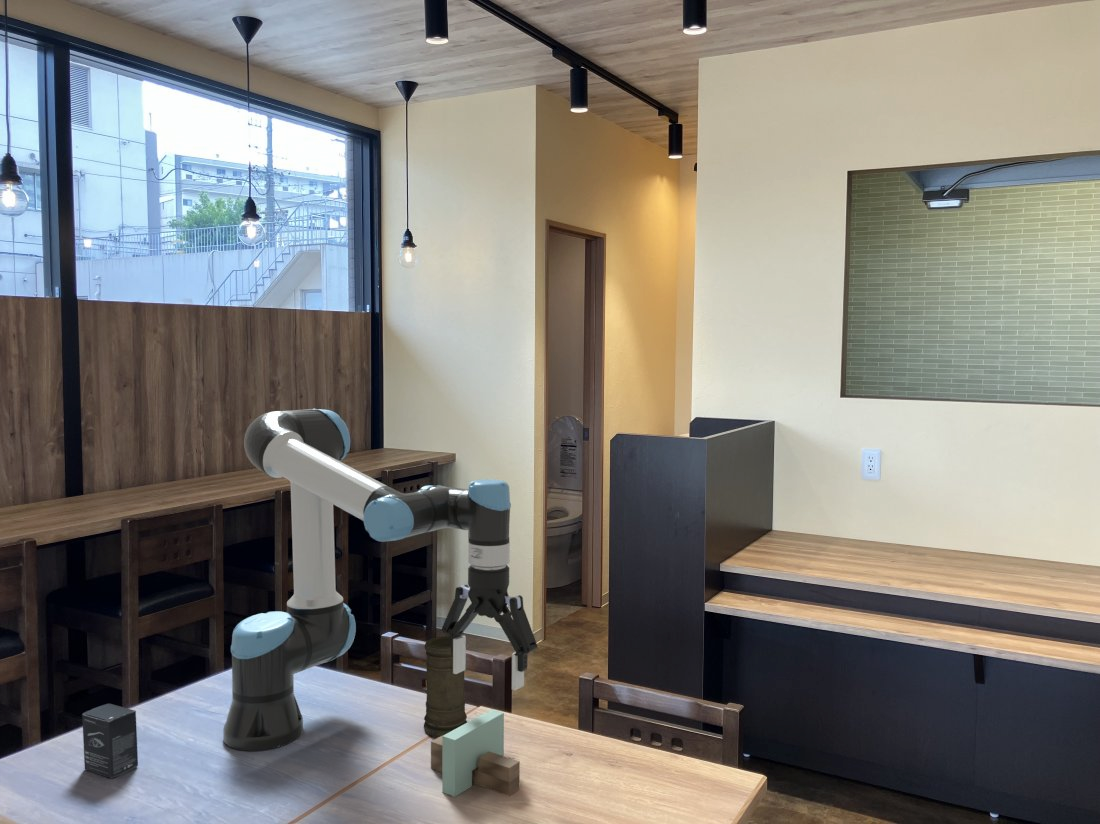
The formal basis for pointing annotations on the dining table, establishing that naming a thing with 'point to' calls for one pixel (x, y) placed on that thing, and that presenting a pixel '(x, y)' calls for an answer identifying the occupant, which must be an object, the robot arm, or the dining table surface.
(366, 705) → the dining table surface
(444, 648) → the container
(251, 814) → the dining table surface
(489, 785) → the slotted rail
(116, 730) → the box
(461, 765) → the plate
